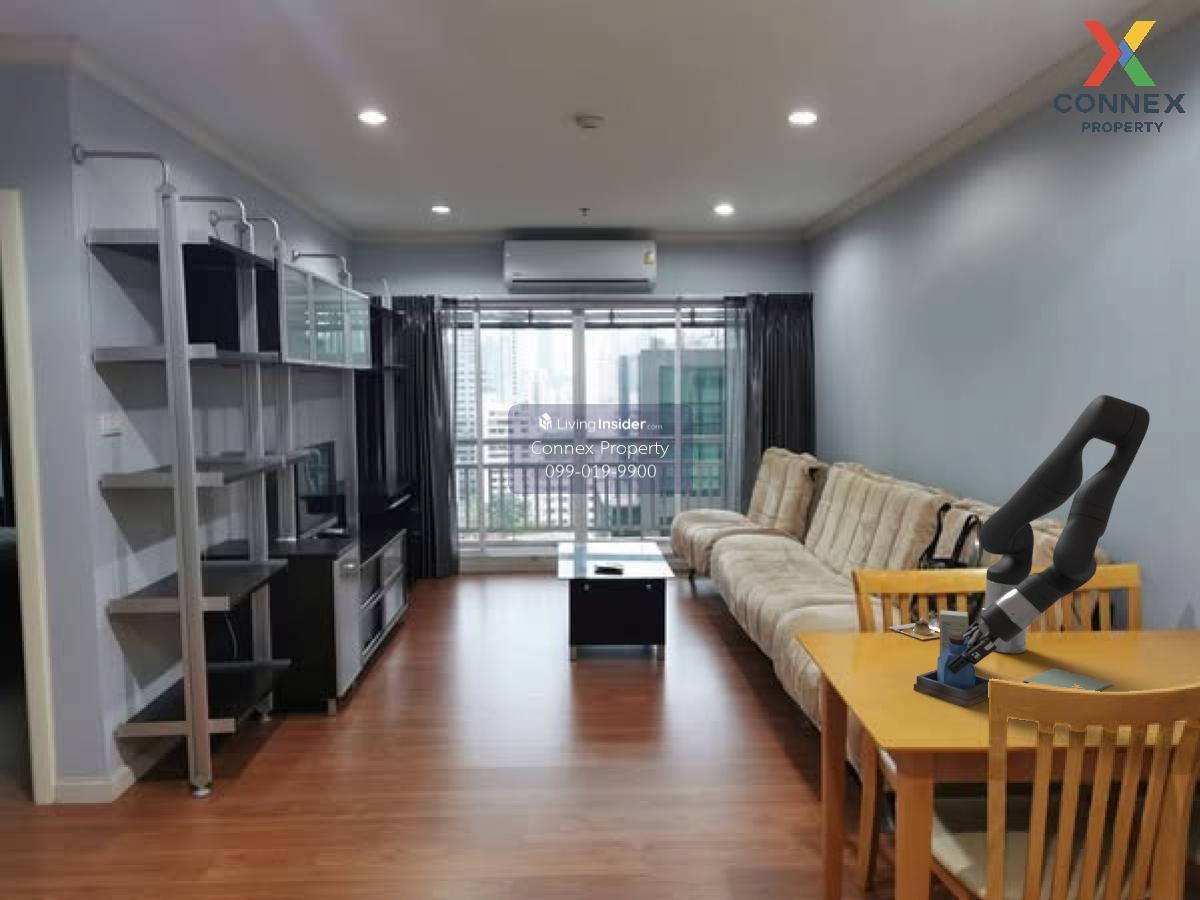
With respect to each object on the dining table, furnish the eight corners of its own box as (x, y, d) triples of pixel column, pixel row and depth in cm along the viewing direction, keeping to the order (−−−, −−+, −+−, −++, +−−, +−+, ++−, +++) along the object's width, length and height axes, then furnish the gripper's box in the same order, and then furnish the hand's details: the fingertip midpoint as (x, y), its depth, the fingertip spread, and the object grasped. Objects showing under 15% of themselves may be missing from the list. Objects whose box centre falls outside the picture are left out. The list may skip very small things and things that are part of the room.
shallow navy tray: (913, 689, 170) (913, 676, 170) (945, 678, 177) (946, 665, 177) (966, 707, 160) (966, 693, 160) (997, 694, 167) (998, 681, 167)
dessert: (922, 643, 204) (922, 625, 204) (888, 631, 215) (888, 613, 215) (956, 637, 209) (956, 620, 209) (921, 626, 220) (921, 609, 220)
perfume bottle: (974, 698, 165) (976, 642, 164) (943, 696, 166) (944, 640, 165) (967, 688, 171) (968, 633, 170) (936, 686, 172) (938, 632, 171)
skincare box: (968, 662, 188) (969, 611, 187) (968, 667, 184) (969, 616, 183) (938, 658, 190) (940, 609, 190) (938, 664, 187) (939, 613, 186)
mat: (1022, 682, 175) (1022, 680, 174) (1054, 669, 182) (1054, 668, 182) (1080, 698, 165) (1080, 697, 165) (1111, 685, 172) (1111, 683, 172)
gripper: (989, 593, 172) (930, 641, 176) (1004, 610, 158) (939, 662, 162) (1015, 618, 171) (955, 667, 175) (1032, 638, 157) (966, 690, 161)
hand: (948, 664), depth 169 cm, fingers closed on perfume bottle, 6 cm apart
